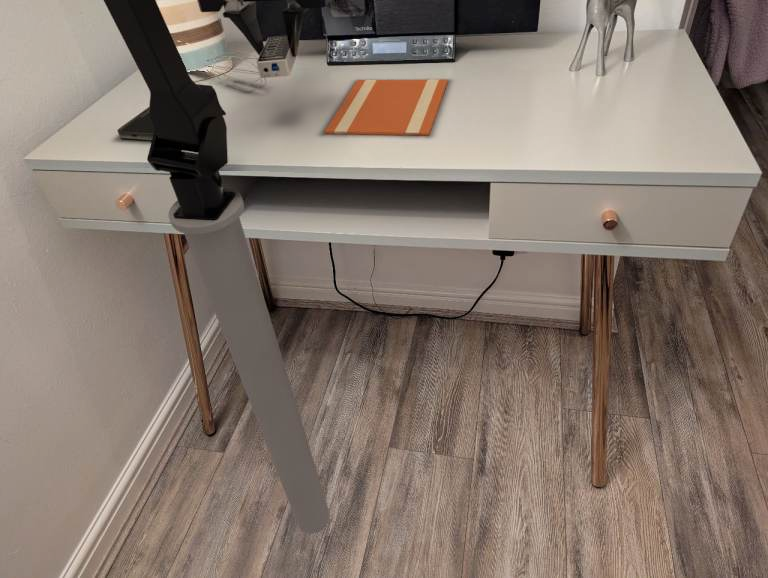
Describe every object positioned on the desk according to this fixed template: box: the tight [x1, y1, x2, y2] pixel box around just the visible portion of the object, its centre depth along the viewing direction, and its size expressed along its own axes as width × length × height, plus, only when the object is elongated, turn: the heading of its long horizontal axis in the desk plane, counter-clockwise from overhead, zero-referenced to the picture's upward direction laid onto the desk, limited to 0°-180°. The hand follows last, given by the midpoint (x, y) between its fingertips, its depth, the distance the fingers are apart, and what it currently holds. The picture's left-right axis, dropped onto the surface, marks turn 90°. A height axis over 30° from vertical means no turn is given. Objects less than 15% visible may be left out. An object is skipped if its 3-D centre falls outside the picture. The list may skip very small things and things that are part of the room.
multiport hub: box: [256, 34, 300, 79], centre depth 86 cm, size 4×11×2 cm, turn 179°
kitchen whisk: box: [205, 51, 267, 92], centre depth 109 cm, size 6×34×6 cm, turn 50°
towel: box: [324, 78, 449, 136], centre depth 93 cm, size 20×16×1 cm
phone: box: [117, 106, 155, 142], centre depth 97 cm, size 8×1×15 cm
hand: (279, 56), depth 86 cm, fingers closed on multiport hub, 5 cm apart
